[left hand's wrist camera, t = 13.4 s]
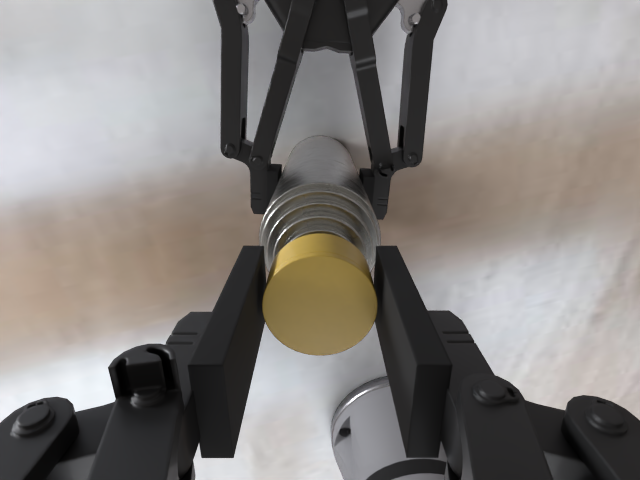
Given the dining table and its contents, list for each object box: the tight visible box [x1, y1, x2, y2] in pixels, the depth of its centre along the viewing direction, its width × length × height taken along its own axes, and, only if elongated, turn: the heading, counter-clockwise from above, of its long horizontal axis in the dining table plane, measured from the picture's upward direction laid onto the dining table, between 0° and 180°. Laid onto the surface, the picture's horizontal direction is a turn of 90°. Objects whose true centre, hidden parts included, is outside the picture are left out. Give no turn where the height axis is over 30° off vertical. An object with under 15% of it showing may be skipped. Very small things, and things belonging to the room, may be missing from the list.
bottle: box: [259, 136, 381, 272], centre depth 23 cm, size 6×6×22 cm
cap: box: [262, 234, 378, 355], centre depth 14 cm, size 4×4×2 cm
